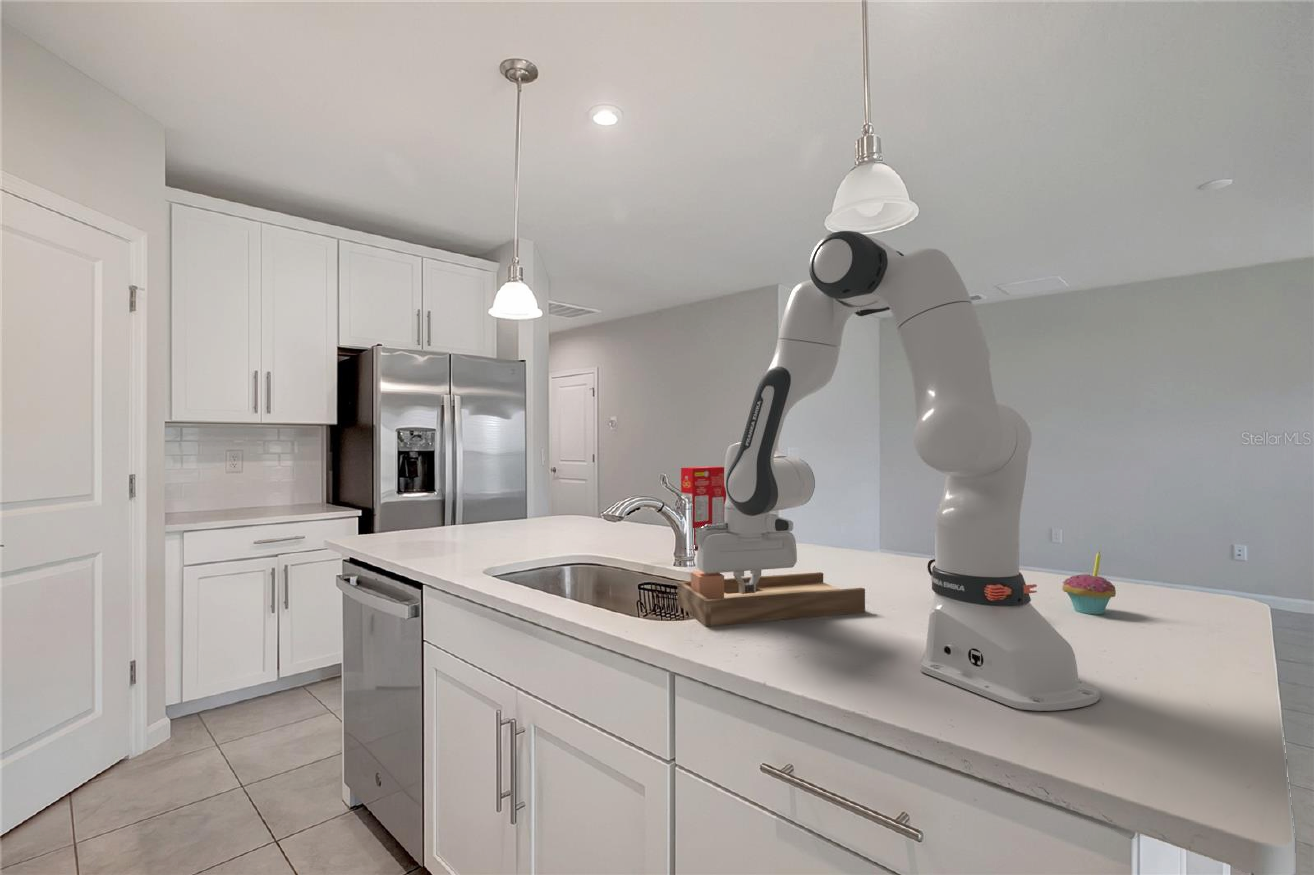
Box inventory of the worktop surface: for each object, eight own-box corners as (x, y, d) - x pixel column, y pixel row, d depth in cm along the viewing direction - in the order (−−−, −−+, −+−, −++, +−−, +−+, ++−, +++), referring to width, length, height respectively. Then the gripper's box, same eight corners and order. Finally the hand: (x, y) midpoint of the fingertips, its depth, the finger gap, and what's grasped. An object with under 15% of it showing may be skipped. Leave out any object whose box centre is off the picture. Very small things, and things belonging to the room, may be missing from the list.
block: (724, 601, 119) (724, 575, 119) (699, 603, 118) (699, 577, 118) (714, 595, 124) (714, 570, 124) (690, 597, 122) (690, 571, 122)
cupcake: (1099, 606, 125) (1098, 546, 125) (1126, 618, 117) (1126, 554, 117) (1053, 605, 126) (1053, 545, 126) (1078, 617, 117) (1077, 553, 117)
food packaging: (714, 543, 203) (714, 466, 204) (726, 545, 199) (726, 467, 200) (681, 548, 194) (681, 467, 194) (692, 550, 190) (692, 468, 190)
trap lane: (865, 612, 121) (865, 588, 121) (705, 626, 111) (705, 601, 112) (820, 592, 136) (820, 572, 136) (677, 604, 127) (677, 581, 127)
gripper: (703, 526, 116) (703, 601, 116) (800, 522, 122) (801, 592, 122) (691, 522, 122) (692, 593, 122) (784, 518, 128) (785, 585, 128)
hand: (747, 593), depth 122 cm, fingers closed
